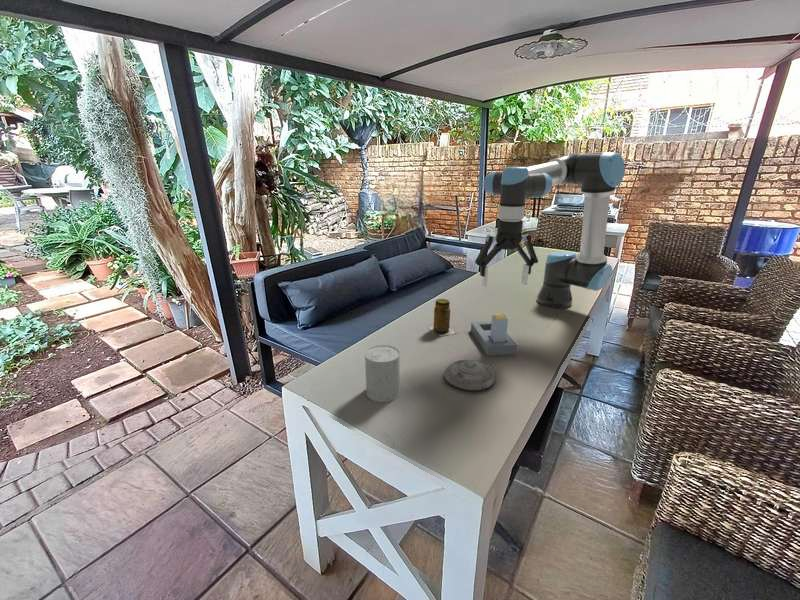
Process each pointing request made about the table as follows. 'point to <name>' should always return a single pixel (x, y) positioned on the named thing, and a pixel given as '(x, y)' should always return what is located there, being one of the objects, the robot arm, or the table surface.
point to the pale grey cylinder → (382, 373)
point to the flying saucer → (469, 375)
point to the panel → (483, 337)
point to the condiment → (442, 318)
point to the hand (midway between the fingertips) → (504, 284)
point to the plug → (498, 328)
